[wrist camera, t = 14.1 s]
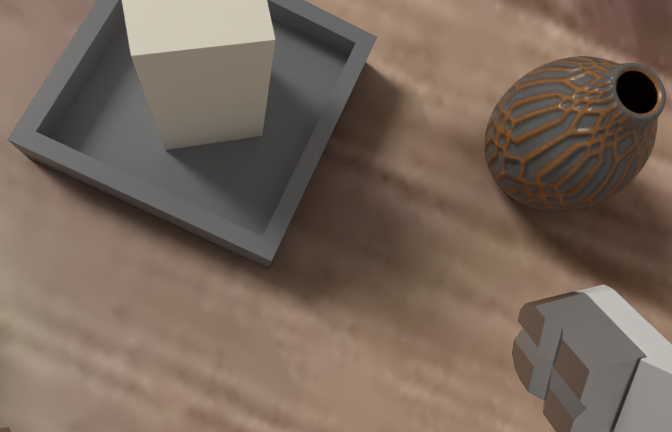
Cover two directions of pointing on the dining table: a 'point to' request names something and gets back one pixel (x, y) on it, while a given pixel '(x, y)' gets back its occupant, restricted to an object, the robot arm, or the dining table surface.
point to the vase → (573, 132)
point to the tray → (202, 160)
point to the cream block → (202, 66)
